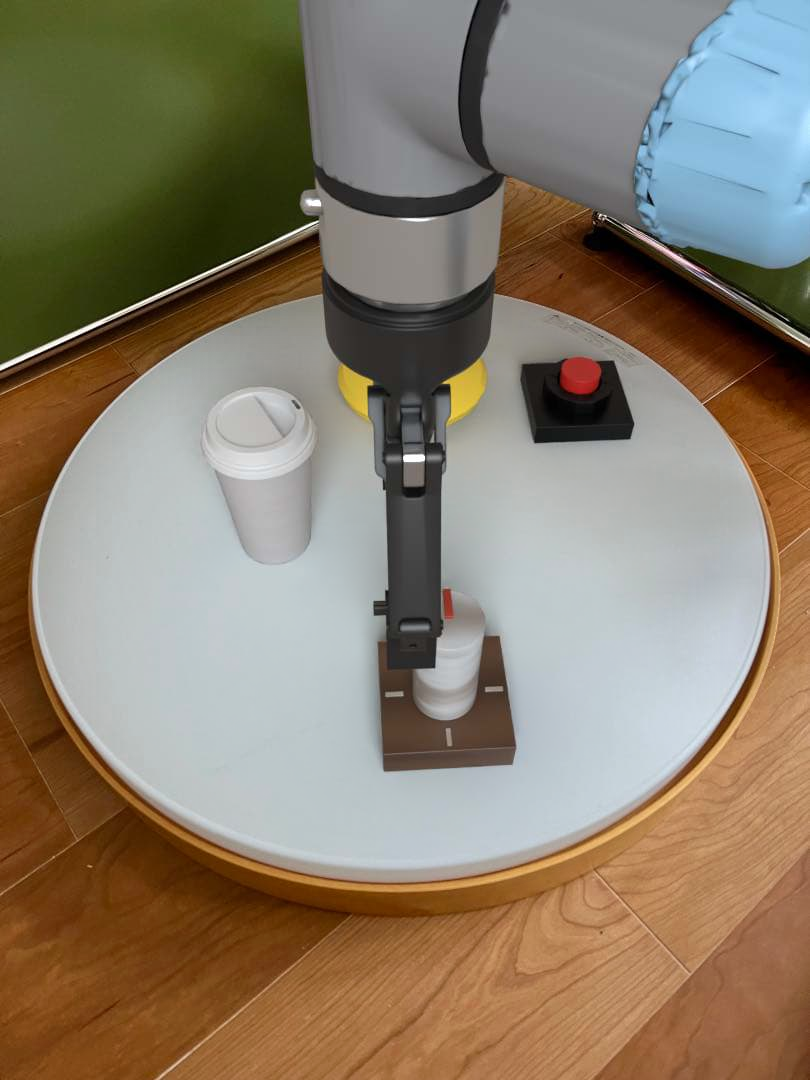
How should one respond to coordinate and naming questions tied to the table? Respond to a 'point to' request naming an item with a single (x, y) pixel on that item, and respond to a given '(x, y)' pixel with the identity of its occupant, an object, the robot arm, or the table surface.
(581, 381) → the button
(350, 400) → the yellow funnel lid
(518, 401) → the table surface
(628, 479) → the table surface
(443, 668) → the tap knob
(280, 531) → the coffee cup
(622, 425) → the black button base
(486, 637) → the panel
